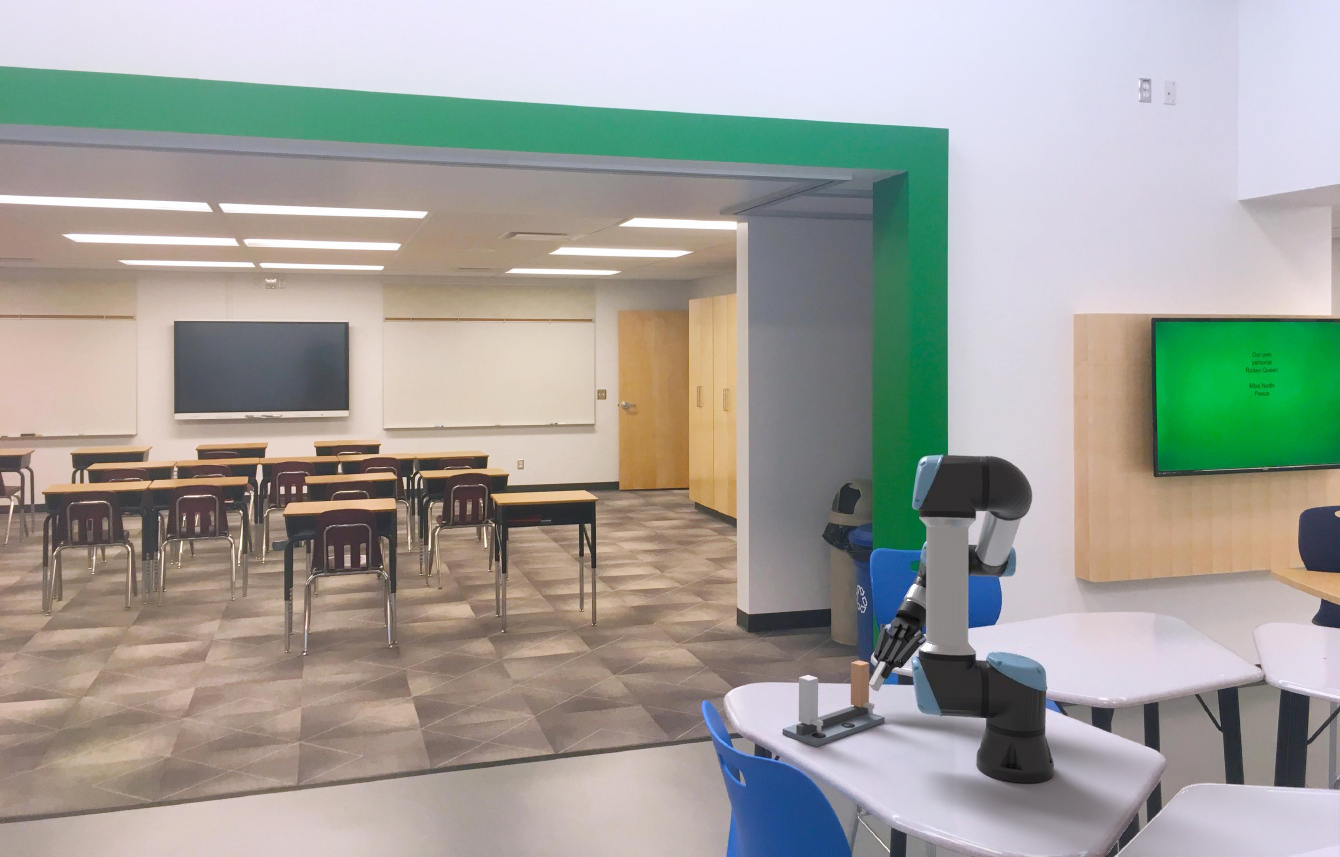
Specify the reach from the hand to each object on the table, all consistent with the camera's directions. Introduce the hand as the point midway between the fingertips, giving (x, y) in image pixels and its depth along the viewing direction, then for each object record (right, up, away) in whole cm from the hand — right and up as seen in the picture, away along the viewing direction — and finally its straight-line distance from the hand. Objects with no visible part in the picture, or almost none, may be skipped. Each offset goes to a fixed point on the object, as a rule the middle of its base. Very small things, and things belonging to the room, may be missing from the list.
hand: (873, 687), depth 240 cm
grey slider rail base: (-11, -7, -9) cm, 16 cm away
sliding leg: (-3, -5, -4) cm, 7 cm away
